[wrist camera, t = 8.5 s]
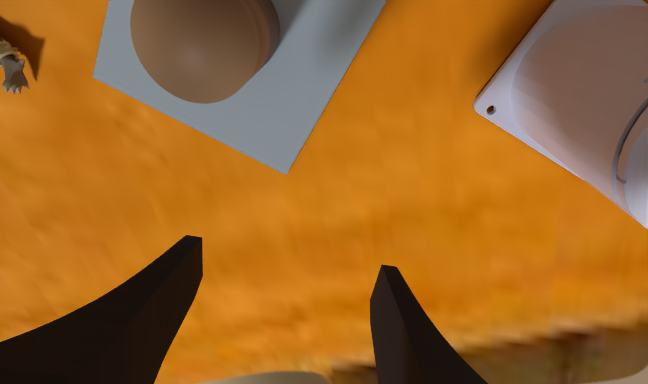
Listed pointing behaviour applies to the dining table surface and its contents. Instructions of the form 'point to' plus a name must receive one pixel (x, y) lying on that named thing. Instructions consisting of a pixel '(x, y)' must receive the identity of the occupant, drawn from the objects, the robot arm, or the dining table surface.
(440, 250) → the dining table surface
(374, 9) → the slate-blue mat
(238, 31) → the walnut cylinder
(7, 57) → the figurine
